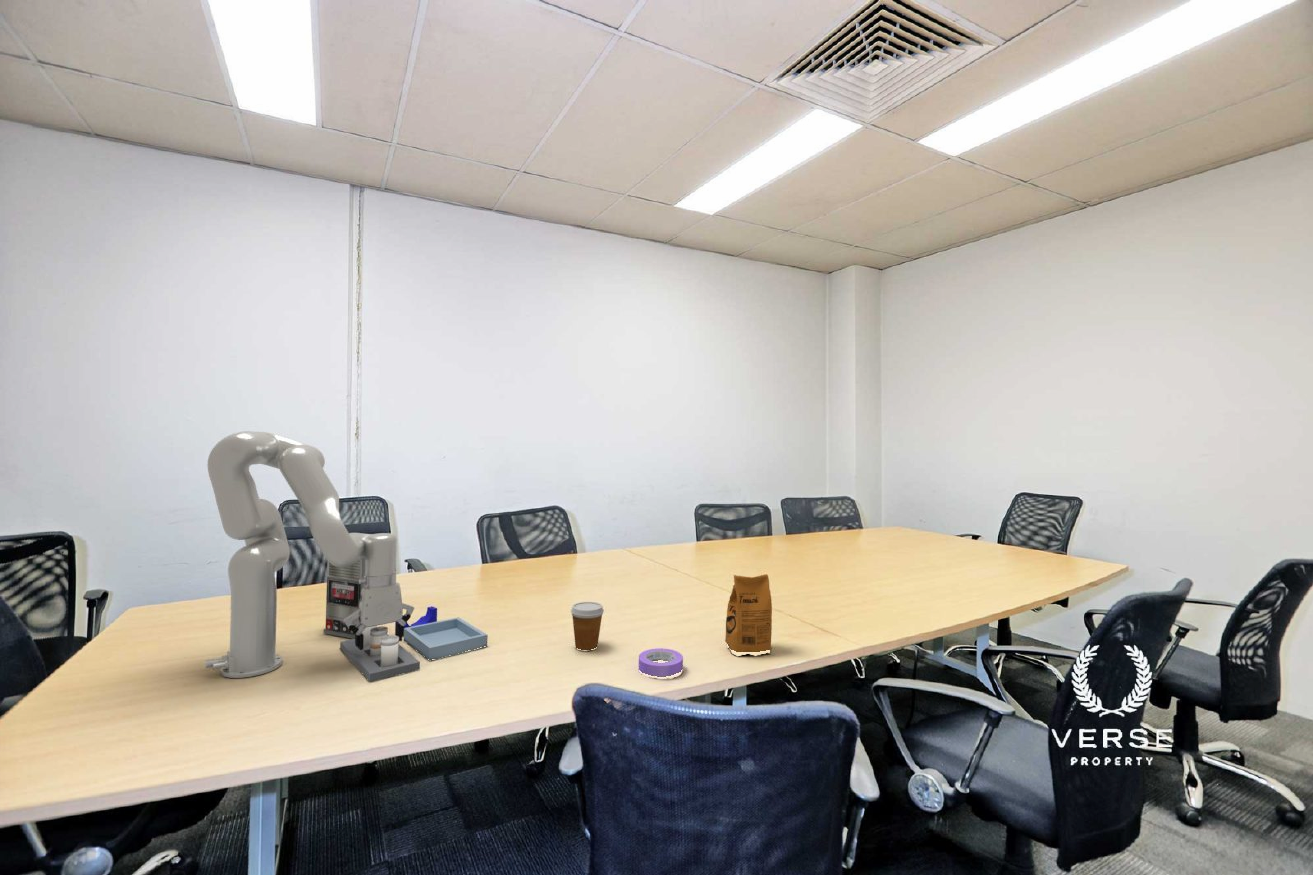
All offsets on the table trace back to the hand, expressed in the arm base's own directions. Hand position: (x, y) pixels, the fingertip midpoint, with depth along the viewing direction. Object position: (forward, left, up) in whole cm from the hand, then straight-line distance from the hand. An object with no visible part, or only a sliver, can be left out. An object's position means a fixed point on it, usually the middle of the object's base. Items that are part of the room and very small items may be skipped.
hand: (379, 644), depth 150 cm
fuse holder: (0, 0, -4) cm, 4 cm away
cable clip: (+15, +17, -4) cm, 23 cm away
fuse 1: (0, +9, -4) cm, 10 cm away
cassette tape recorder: (-1, +25, -4) cm, 26 cm away
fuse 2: (0, -9, -4) cm, 10 cm away
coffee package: (+83, -59, -4) cm, 102 cm away
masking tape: (+54, -53, -4) cm, 75 cm away
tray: (+18, 0, -4) cm, 18 cm away
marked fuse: (0, 0, -4) cm, 4 cm away
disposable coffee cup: (+48, -28, -4) cm, 55 cm away
